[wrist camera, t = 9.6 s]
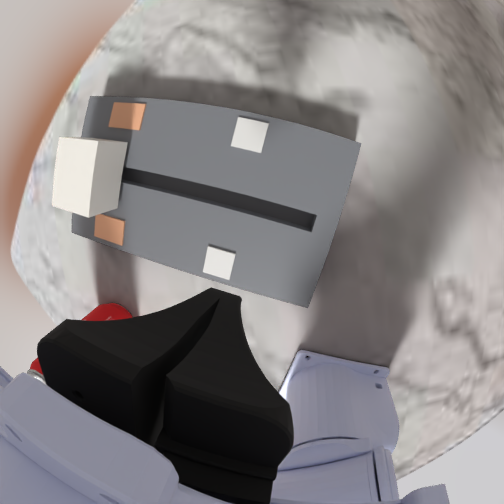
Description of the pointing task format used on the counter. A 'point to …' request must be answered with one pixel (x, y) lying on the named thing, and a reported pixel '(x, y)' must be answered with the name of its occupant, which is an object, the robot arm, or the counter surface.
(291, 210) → the fader console
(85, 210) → the fader knob
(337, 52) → the counter surface
